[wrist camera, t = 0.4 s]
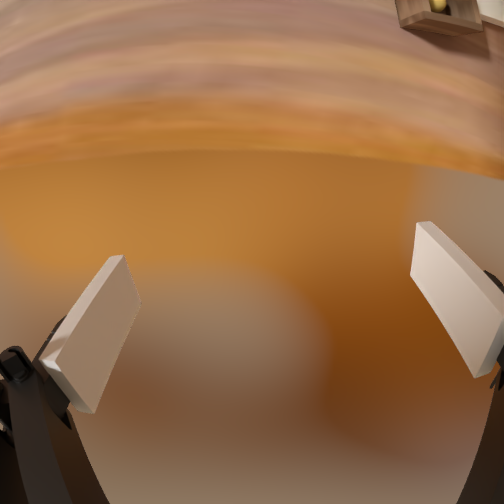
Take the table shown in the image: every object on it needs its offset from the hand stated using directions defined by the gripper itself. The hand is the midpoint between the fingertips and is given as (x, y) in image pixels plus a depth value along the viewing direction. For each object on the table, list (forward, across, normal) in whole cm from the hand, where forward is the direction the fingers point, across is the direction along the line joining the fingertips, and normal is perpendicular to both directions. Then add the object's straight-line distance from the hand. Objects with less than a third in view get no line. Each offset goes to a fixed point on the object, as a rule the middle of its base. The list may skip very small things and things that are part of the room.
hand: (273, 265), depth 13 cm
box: (+27, +24, +21) cm, 42 cm away
